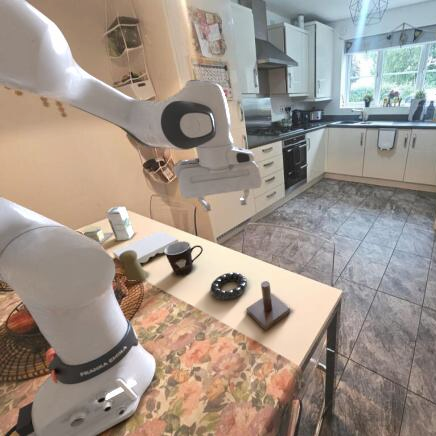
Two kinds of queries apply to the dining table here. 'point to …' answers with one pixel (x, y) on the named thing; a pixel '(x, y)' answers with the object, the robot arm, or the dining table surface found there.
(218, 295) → the ring
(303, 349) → the dining table surface
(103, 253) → the robot arm
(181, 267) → the coffee mug
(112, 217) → the syrup box
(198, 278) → the dining table surface
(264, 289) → the peg stand
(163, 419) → the dining table surface
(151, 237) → the food packaging
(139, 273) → the olive flared cylinder
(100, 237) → the stacked layers on plate
